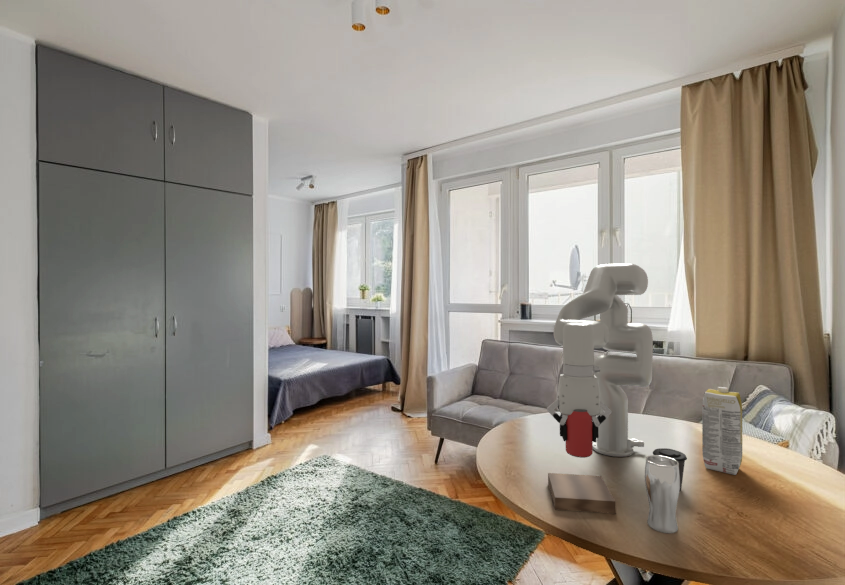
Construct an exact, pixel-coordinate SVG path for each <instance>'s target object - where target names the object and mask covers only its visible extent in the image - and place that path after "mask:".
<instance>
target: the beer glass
mask: <svg viewBox="0 0 845 585" xmlns="http://www.w3.org/2000/svg"><path fill="white" fill-rule="evenodd" d="M644 466H645V467H644V482H645V491H646V495H647V499H648V508H649V509H648V516H647V526H649V527H650V528H651V529H652V530H655V531H657V532H659V533H663V534H674V533H677V532H678V531H679V530H678V528H679V526H678V522H677V514H676V513H677V512H676V511H677V506H678V501H679V496H680V492H679V490H680V474H679V463H678V461H676V460H675V459H673V458H670V457H666V456H661V455H653V454H651V455H647V456H646V457H645V465H644Z"/></svg>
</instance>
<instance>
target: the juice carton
mask: <svg viewBox="0 0 845 585" xmlns="http://www.w3.org/2000/svg"><path fill="white" fill-rule="evenodd" d="M701 403H702V412H701V413H702V414H701V415H702V419H701V420H702V423H701V426H702V427H701V429H702V431H701V432H702V434H701V435H702V436H701V438H702V440H701V442H702V444H701V445H702V446H701V447H702V459H703V464H704V466H705V468H706V469H708V470H712V471H717V472H720V473H725V474H729V475H733V476H736V475H737V473H738V472H739V469H740V467H741V465H742V462H743V403H742V397H741V394H740V392H735V391H729V388H728V387H725V386H723V387H722V386H717V389H712V388H708V389H707V390H705V392H704V394H703V399H702V402H701Z"/></svg>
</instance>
